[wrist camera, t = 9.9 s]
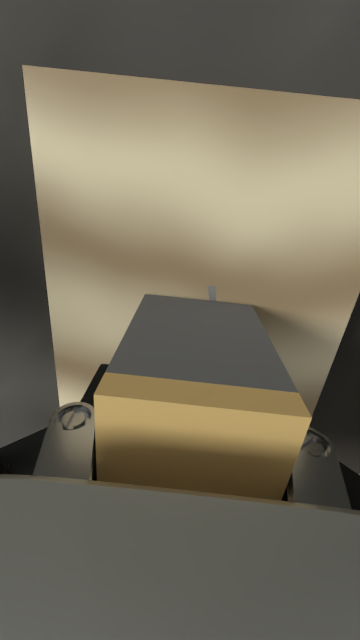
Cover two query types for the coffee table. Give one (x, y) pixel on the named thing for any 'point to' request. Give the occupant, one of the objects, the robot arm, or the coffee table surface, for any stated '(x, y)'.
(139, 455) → the block
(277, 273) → the board
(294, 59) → the coffee table surface
